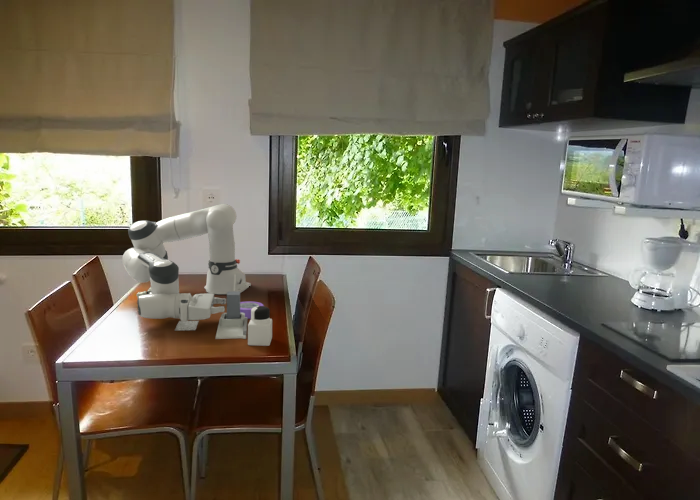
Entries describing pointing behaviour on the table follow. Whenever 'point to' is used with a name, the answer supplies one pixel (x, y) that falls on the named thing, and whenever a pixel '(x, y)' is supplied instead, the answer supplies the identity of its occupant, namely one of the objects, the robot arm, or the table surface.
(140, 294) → the pneumatic valve
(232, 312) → the clip
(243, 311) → the masking tape
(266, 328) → the medicine bottle
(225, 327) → the holder
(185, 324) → the grey rectangular plate
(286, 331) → the table surface
